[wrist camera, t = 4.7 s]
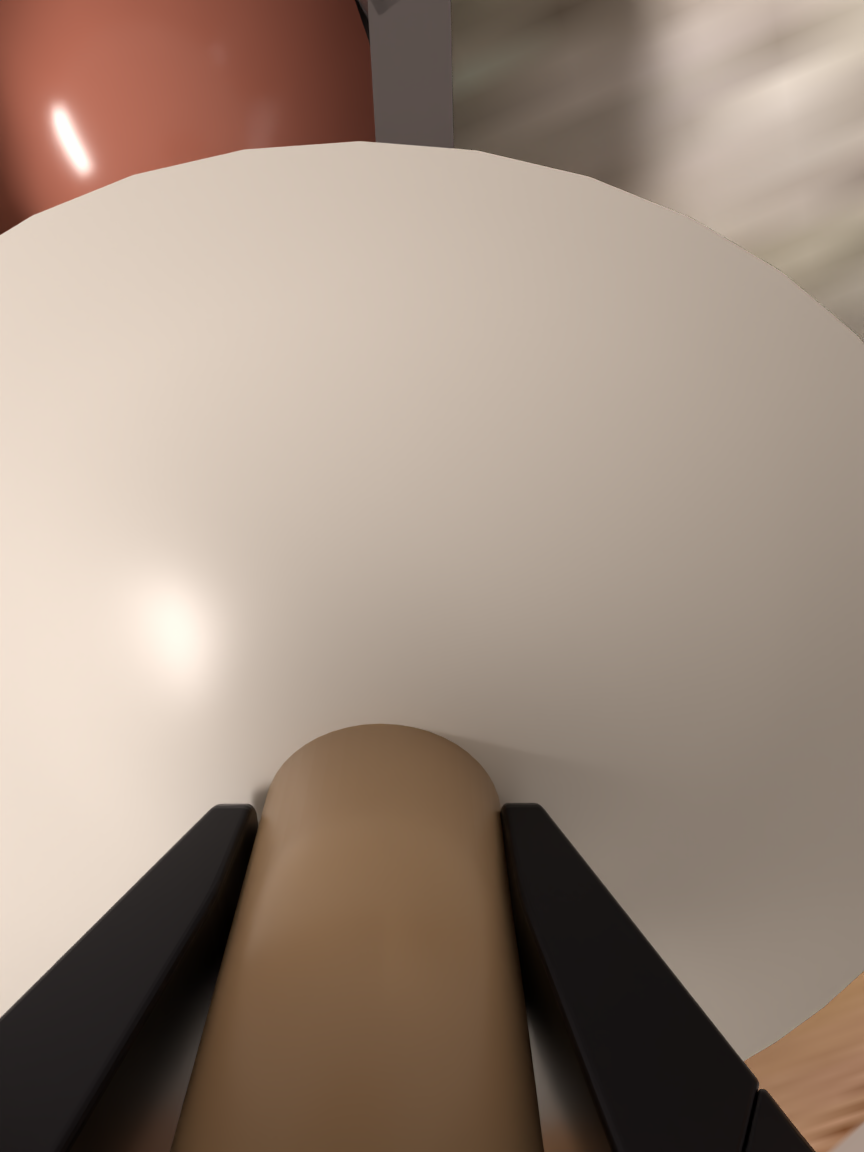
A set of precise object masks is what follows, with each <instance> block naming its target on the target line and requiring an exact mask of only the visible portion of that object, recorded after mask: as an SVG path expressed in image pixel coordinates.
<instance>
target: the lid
mask: <svg viewBox="0 0 864 1152" xmlns="http://www.w3.org/2000/svg"><path fill="white" fill-rule="evenodd" d="M505 803H537V804H539V805H541V806H542V807H543V808H544V809H545V811H546V812H547V813H548V814H549V816H550V817H551V818H552V819H553V821H554V822H555V823H556V824H557V826H558V827H559V828H560V830H561V831H562V832H563V833H564V835H565V836H566V837H567V838H568V840H569V841H570V842H571V843H572V845H573V846H574V847H575V849H576V850H577V851H578V852H579V854H580V855H581V856H582V857H583V859H584V860H585V861H586V862H587V864H588V865H589V866H590V868H591V869H592V870H593V871H594V873H595V874H596V875H597V876H598V878H599V879H600V880H601V882H602V883H603V884H604V885H605V887H606V888H607V889H608V890H609V892H610V893H611V894H612V895H613V897H614V898H615V899H616V901H617V902H618V903H619V904H620V906H621V907H622V908H623V909H624V911H625V912H626V913H627V914H628V916H629V917H630V918H631V920H632V921H633V922H634V923H635V925H636V926H637V927H638V928H639V930H640V931H641V932H642V933H643V935H644V936H645V937H646V939H647V940H648V941H649V942H650V944H651V945H652V946H653V947H654V949H655V950H656V951H657V953H658V954H659V955H660V956H661V958H662V959H663V960H664V961H665V963H666V964H667V965H668V966H669V968H670V969H671V970H672V972H673V973H674V974H675V975H676V977H677V978H678V979H679V980H680V982H681V983H682V984H683V985H684V987H685V988H686V989H687V991H688V992H689V993H690V994H691V996H692V997H693V998H694V999H695V1001H696V1002H697V1003H698V1004H699V1006H700V1007H701V1008H702V1010H703V1011H704V1012H705V1013H706V1015H707V1016H708V1017H709V1018H710V1020H711V1021H712V1022H713V1024H714V1025H715V1026H716V1027H717V1029H718V1030H719V1031H720V1032H721V1034H722V1035H723V1036H724V1037H725V1039H726V1040H727V1041H728V1043H729V1044H730V1045H731V1046H732V1048H733V1049H734V1050H735V1051H736V1053H737V1054H738V1055H739V1056H740V1058H741V1059H742V1060H743V1061H745V1060H747V1059H748V1058H750V1057H752V1056H753V1055H755V1054H757V1053H758V1052H760V1051H762V1050H763V1049H765V1048H767V1047H769V1046H770V1045H772V1044H774V1043H775V1042H777V1041H778V1040H780V1039H781V1038H782V1037H784V1036H785V1035H786V1034H788V1033H789V1032H791V1031H792V1030H793V1029H795V1028H796V1027H797V1026H799V1025H800V1024H802V1023H803V1022H804V1021H806V1020H807V1019H808V1018H810V1017H811V1016H812V1015H814V1014H815V1013H817V1012H818V1011H819V1010H821V1009H822V1008H823V1007H825V1006H826V1005H827V1004H828V1003H829V1002H830V1001H831V1000H832V999H833V998H834V997H836V996H837V995H838V994H839V993H840V992H841V991H842V990H843V989H844V988H846V987H847V986H848V985H849V984H850V983H851V982H852V981H853V980H854V979H855V978H857V977H858V976H859V975H860V974H861V973H862V972H863V971H864V343H863V342H862V340H861V339H860V338H859V337H858V336H857V334H855V333H854V332H853V331H852V330H851V329H849V328H848V327H847V326H846V325H845V324H844V323H842V322H841V321H840V320H839V319H838V318H836V317H835V316H834V315H833V314H832V313H830V312H829V311H828V310H827V309H826V308H824V307H823V306H822V305H821V304H820V303H819V302H817V301H816V300H815V299H814V298H813V297H811V296H810V295H809V294H808V293H807V292H805V291H804V290H803V289H802V288H801V287H799V286H798V285H797V284H796V283H795V282H794V281H792V280H791V279H790V278H789V277H788V276H786V275H785V274H784V273H783V272H782V271H780V270H778V269H777V268H775V267H773V266H772V265H770V264H768V263H767V262H765V261H763V260H762V259H760V258H758V257H757V256H755V255H753V254H752V253H750V252H748V251H747V250H745V249H743V248H742V247H740V246H738V245H736V244H735V243H733V242H731V241H730V240H728V239H726V238H725V237H723V236H721V235H720V234H718V233H716V232H715V231H713V230H711V229H710V228H708V227H706V226H705V225H703V224H701V223H700V222H698V221H696V220H695V219H693V218H691V217H689V216H686V215H684V214H681V213H679V212H676V211H674V210H671V209H669V208H666V207H664V206H661V205H659V204H656V203H654V202H651V201H649V200H646V199H644V198H641V197H639V196H636V195H634V194H631V193H629V192H626V191H624V190H621V189H619V188H616V187H614V186H611V185H609V184H606V183H604V182H601V181H599V180H596V179H594V178H591V177H589V176H585V175H580V174H576V173H572V172H568V171H563V170H559V169H555V168H550V167H546V166H542V165H538V164H533V163H529V162H525V161H520V160H516V159H512V158H508V157H503V156H499V155H495V154H490V153H486V152H482V151H478V150H466V149H454V148H441V147H428V146H416V145H403V144H390V143H378V142H365V141H355V142H341V143H328V144H314V145H300V146H286V147H272V148H258V149H244V150H240V151H235V152H231V153H227V154H222V155H218V156H214V157H209V158H205V159H200V160H196V161H192V162H187V163H183V164H179V165H174V166H170V167H166V168H161V169H157V170H152V171H148V172H144V173H139V174H135V175H132V176H129V177H127V178H124V179H122V180H119V181H117V182H114V183H112V184H109V185H107V186H105V187H102V188H100V189H97V190H95V191H92V192H90V193H87V194H85V195H82V196H80V197H77V198H75V199H72V200H70V201H67V202H65V203H62V204H60V205H57V206H55V207H52V208H50V209H47V210H45V211H43V212H40V213H38V214H35V215H33V216H31V217H29V218H28V219H26V220H24V221H23V222H21V223H19V224H18V225H16V226H14V227H13V228H11V229H10V230H8V231H6V232H5V233H3V234H1V235H0V1017H1V1016H2V1015H3V1014H4V1013H5V1012H6V1011H7V1010H8V1009H9V1008H10V1007H11V1006H12V1005H13V1004H14V1003H15V1002H16V1001H17V1000H18V999H19V998H20V997H21V996H22V995H23V994H24V993H25V992H26V991H27V990H28V989H29V988H30V987H31V986H32V985H33V984H35V983H36V982H37V981H38V980H39V979H40V978H41V977H42V976H43V975H44V974H45V973H46V972H47V971H48V970H49V969H50V968H51V967H52V966H53V965H54V964H55V963H56V962H57V961H58V960H59V959H60V958H61V957H62V956H63V955H64V954H65V953H66V952H67V951H68V950H69V949H70V948H71V947H72V946H73V945H74V944H75V943H76V942H77V941H78V940H79V939H80V938H81V937H82V936H83V935H84V934H85V933H86V932H87V931H88V930H89V929H90V928H91V927H92V926H93V925H94V924H95V923H96V922H97V921H98V920H99V919H100V918H101V917H102V916H103V915H104V914H105V913H106V912H107V911H108V910H109V909H110V908H111V907H112V906H113V905H114V904H115V903H116V902H117V901H118V900H119V899H120V898H121V897H122V896H123V895H124V894H125V893H126V892H127V891H128V890H129V889H130V888H131V887H132V886H133V885H134V884H135V883H136V882H137V881H138V880H139V879H140V878H141V877H142V876H143V875H144V874H145V873H146V872H147V871H148V870H149V869H150V868H151V867H152V866H153V865H154V864H155V863H156V862H157V861H158V860H159V859H160V858H161V857H162V856H163V855H164V854H165V853H166V852H167V851H168V850H169V849H170V848H171V847H172V846H173V845H174V844H175V843H176V842H177V841H178V840H179V839H180V838H181V837H182V836H183V835H184V834H185V833H186V832H187V831H188V830H189V829H190V828H191V827H192V826H193V825H194V824H195V823H197V822H198V821H199V820H200V819H201V818H202V817H203V816H204V815H205V814H206V813H207V812H208V811H209V810H210V809H211V808H212V807H214V806H215V805H217V804H250V805H252V806H253V807H254V808H255V810H256V813H257V819H258V830H257V833H256V837H255V841H254V844H253V848H252V852H251V855H250V859H249V863H248V866H247V870H246V874H245V877H244V881H243V885H242V889H241V892H240V896H239V900H238V903H237V907H236V911H235V914H234V918H233V922H232V925H231V929H230V933H229V936H228V940H227V944H226V947H225V951H224V955H223V958H222V962H221V966H220V970H219V973H218V977H217V981H216V984H215V988H214V992H213V995H212V999H211V1003H210V1006H209V1010H208V1014H207V1017H206V1021H205V1025H204V1028H203V1032H202V1036H201V1040H200V1043H199V1047H198V1051H197V1054H196V1058H195V1062H194V1065H193V1069H192V1073H191V1076H190V1080H189V1084H188V1087H187V1091H186V1095H185V1098H184V1102H183V1106H182V1109H181V1113H180V1117H179V1121H178V1124H177V1128H176V1132H175V1135H174V1139H173V1143H172V1146H171V1150H170V1152H544V1147H543V1139H542V1131H541V1123H540V1115H539V1107H538V1099H537V1091H536V1083H535V1076H534V1068H533V1060H532V1052H531V1044H530V1036H529V1028H528V1020H527V1012H526V1004H525V996H524V989H523V981H522V973H521V966H520V960H519V953H518V946H517V940H516V933H515V926H514V919H513V912H512V904H511V896H510V888H509V880H508V872H507V864H506V856H505V848H504V840H503V832H502V824H501V816H500V811H501V808H502V806H503V805H504V804H505Z"/></svg>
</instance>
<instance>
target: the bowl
mask: <svg viewBox="0 0 864 1152" xmlns="http://www.w3.org/2000/svg"><path fill="white" fill-rule="evenodd" d="M355 141H365V142H378V143H390V144H403V145H416V146H428V147H441V148H454V139H453V88H452V37H451V0H0V235H1V234H3V233H5V232H6V231H8V230H10V229H11V228H13V227H14V226H16V225H18V224H19V223H21V222H23V221H24V220H26V219H28V218H29V217H31V216H33V215H35V214H38V213H40V212H43V211H45V210H47V209H50V208H52V207H55V206H57V205H60V204H62V203H65V202H67V201H70V200H72V199H75V198H77V197H80V196H82V195H85V194H87V193H90V192H92V191H95V190H97V189H100V188H102V187H105V186H107V185H109V184H112V183H114V182H117V181H119V180H122V179H124V178H127V177H129V176H132V175H135V174H139V173H144V172H148V171H152V170H157V169H161V168H166V167H170V166H174V165H179V164H183V163H187V162H192V161H196V160H200V159H205V158H209V157H214V156H218V155H222V154H227V153H231V152H235V151H240V150H244V149H258V148H272V147H286V146H300V145H314V144H328V143H341V142H355Z"/></svg>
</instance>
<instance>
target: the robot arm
mask: <svg viewBox="0 0 864 1152" xmlns="http://www.w3.org/2000/svg"><path fill="white" fill-rule="evenodd" d="M500 816H501V824H502V832H503V840H504V848H505V856H506V864H507V872H508V880H509V888H510V896H511V904H512V912H513V919H514V926H515V933H516V940H517V946H518V953H519V960H520V966H521V973H522V981H523V989H524V996H525V1004H526V1012H527V1020H528V1028H529V1036H530V1044H531V1052H532V1060H533V1068H534V1076H535V1083H536V1091H537V1099H538V1107H539V1115H540V1123H541V1131H542V1139H543V1147H544V1152H815V1151H814V1149H813V1148H812V1147H811V1146H810V1144H809V1143H808V1142H807V1141H806V1140H805V1138H804V1137H803V1136H802V1135H801V1134H800V1132H799V1131H798V1130H797V1129H796V1127H795V1126H794V1125H793V1123H792V1122H791V1121H790V1120H789V1118H788V1117H787V1116H786V1114H785V1113H784V1112H783V1111H782V1109H781V1108H780V1107H779V1105H778V1104H777V1103H776V1102H775V1100H774V1099H773V1098H772V1096H771V1095H770V1094H769V1093H768V1092H767V1091H766V1090H765V1089H760V1090H759V1091H758V1088H759V1082H758V1080H757V1078H756V1077H755V1075H754V1074H753V1073H752V1072H751V1070H750V1069H749V1068H748V1067H747V1065H746V1064H745V1063H744V1062H743V1060H742V1059H741V1058H740V1056H739V1055H738V1054H737V1053H736V1051H735V1050H734V1049H733V1048H732V1046H731V1045H730V1044H729V1043H728V1041H727V1040H726V1039H725V1037H724V1036H723V1035H722V1034H721V1032H720V1031H719V1030H718V1029H717V1027H716V1026H715V1025H714V1024H713V1022H712V1021H711V1020H710V1018H709V1017H708V1016H707V1015H706V1013H705V1012H704V1011H703V1010H702V1008H701V1007H700V1006H699V1004H698V1003H697V1002H696V1001H695V999H694V998H693V997H692V996H691V994H690V993H689V992H688V991H687V989H686V988H685V987H684V985H683V984H682V983H681V982H680V980H679V979H678V978H677V977H676V975H675V974H674V973H673V972H672V970H671V969H670V968H669V966H668V965H667V964H666V963H665V961H664V960H663V959H662V958H661V956H660V955H659V954H658V953H657V951H656V950H655V949H654V947H653V946H652V945H651V944H650V942H649V941H648V940H647V939H646V937H645V936H644V935H643V933H642V932H641V931H640V930H639V928H638V927H637V926H636V925H635V923H634V922H633V921H632V920H631V918H630V917H629V916H628V914H627V913H626V912H625V911H624V909H623V908H622V907H621V906H620V904H619V903H618V902H617V901H616V899H615V898H614V897H613V895H612V894H611V893H610V892H609V890H608V889H607V888H606V887H605V885H604V884H603V883H602V882H601V880H600V879H599V878H598V876H597V875H596V874H595V873H594V871H593V870H592V869H591V868H590V866H589V865H588V864H587V862H586V861H585V860H584V859H583V857H582V856H581V855H580V854H579V852H578V851H577V850H576V849H575V847H574V846H573V845H572V843H571V842H570V841H569V840H568V838H567V837H566V836H565V835H564V833H563V832H562V831H561V830H560V828H559V827H558V826H557V824H556V823H555V822H554V821H553V819H552V818H551V817H550V816H549V814H548V813H547V812H546V811H545V809H544V808H543V807H542V806H541V805H539V804H537V803H505V804H504V805H503V806H502V808H501V811H500ZM257 830H258V819H257V813H256V810H255V808H254V807H253V806H252V805H250V804H217V805H215V806H214V807H212V808H211V809H210V810H209V811H208V812H207V813H206V814H205V815H204V816H203V817H202V818H201V819H200V820H199V821H198V822H197V823H195V824H194V825H193V826H192V827H191V828H190V829H189V830H188V831H187V832H186V833H185V834H184V835H183V836H182V837H181V838H180V839H179V840H178V841H177V842H176V843H175V844H174V845H173V846H172V847H171V848H170V849H169V850H168V851H167V852H166V853H165V854H164V855H163V856H162V857H161V858H160V859H159V860H158V861H157V862H156V863H155V864H154V865H153V866H152V867H151V868H150V869H149V870H148V871H147V872H146V873H145V874H144V875H143V876H142V877H141V878H140V879H139V880H138V881H137V882H136V883H135V884H134V885H133V886H132V887H131V888H130V889H129V890H128V891H127V892H126V893H125V894H124V895H123V896H122V897H121V898H120V899H119V900H118V901H117V902H116V903H115V904H114V905H113V906H112V907H111V908H110V909H109V910H108V911H107V912H106V913H105V914H104V915H103V916H102V917H101V918H100V919H99V920H98V921H97V922H96V923H95V924H94V925H93V926H92V927H91V928H90V929H89V930H88V931H87V932H86V933H85V934H84V935H83V936H82V937H81V938H80V939H79V940H78V941H77V942H76V943H75V944H74V945H73V946H72V947H71V948H70V949H69V950H68V951H67V952H66V953H65V954H64V955H63V956H62V957H61V958H60V959H59V960H58V961H57V962H56V963H55V964H54V965H53V966H52V967H51V968H50V969H49V970H48V971H47V972H46V973H45V974H44V975H43V976H42V977H41V978H40V979H39V980H38V981H37V982H36V983H35V984H33V985H32V986H31V987H30V988H29V989H28V990H27V991H26V992H25V993H24V994H23V995H22V996H21V997H20V998H19V999H18V1000H17V1001H16V1002H15V1003H14V1004H13V1005H12V1006H11V1007H10V1008H9V1009H8V1010H7V1011H6V1012H5V1013H4V1014H3V1015H2V1016H1V1017H0V1152H170V1150H171V1146H172V1143H173V1139H174V1135H175V1132H176V1128H177V1124H178V1121H179V1117H180V1113H181V1109H182V1106H183V1102H184V1098H185V1095H186V1091H187V1087H188V1084H189V1080H190V1076H191V1073H192V1069H193V1065H194V1062H195V1058H196V1054H197V1051H198V1047H199V1043H200V1040H201V1036H202V1032H203V1028H204V1025H205V1021H206V1017H207V1014H208V1010H209V1006H210V1003H211V999H212V995H213V992H214V988H215V984H216V981H217V977H218V973H219V970H220V966H221V962H222V958H223V955H224V951H225V947H226V944H227V940H228V936H229V933H230V929H231V925H232V922H233V918H234V914H235V911H236V907H237V903H238V900H239V896H240V892H241V889H242V885H243V881H244V877H245V874H246V870H247V866H248V863H249V859H250V855H251V852H252V848H253V844H254V841H255V837H256V833H257Z"/></svg>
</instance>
